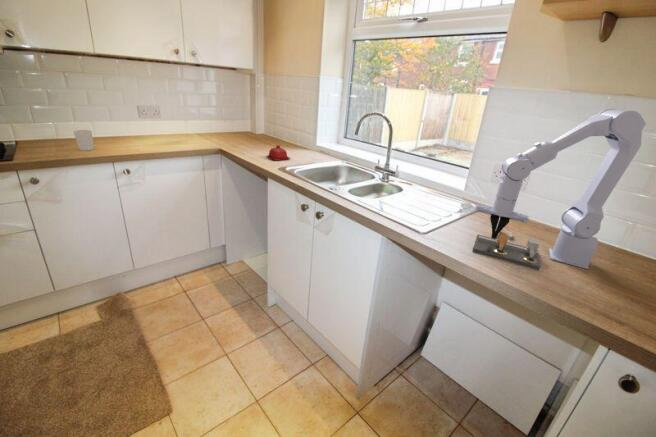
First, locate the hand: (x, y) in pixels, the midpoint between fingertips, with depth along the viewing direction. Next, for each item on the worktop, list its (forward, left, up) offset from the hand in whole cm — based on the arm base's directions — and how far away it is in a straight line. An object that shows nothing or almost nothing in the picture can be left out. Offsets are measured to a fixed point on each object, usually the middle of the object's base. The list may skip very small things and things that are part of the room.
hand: (493, 237), depth 101 cm
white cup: (+206, +18, -3) cm, 207 cm away
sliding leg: (-3, +2, -2) cm, 3 cm away
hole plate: (-4, +2, -3) cm, 6 cm away
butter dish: (+121, -45, -4) cm, 129 cm away
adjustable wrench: (-2, -21, -4) cm, 21 cm away
